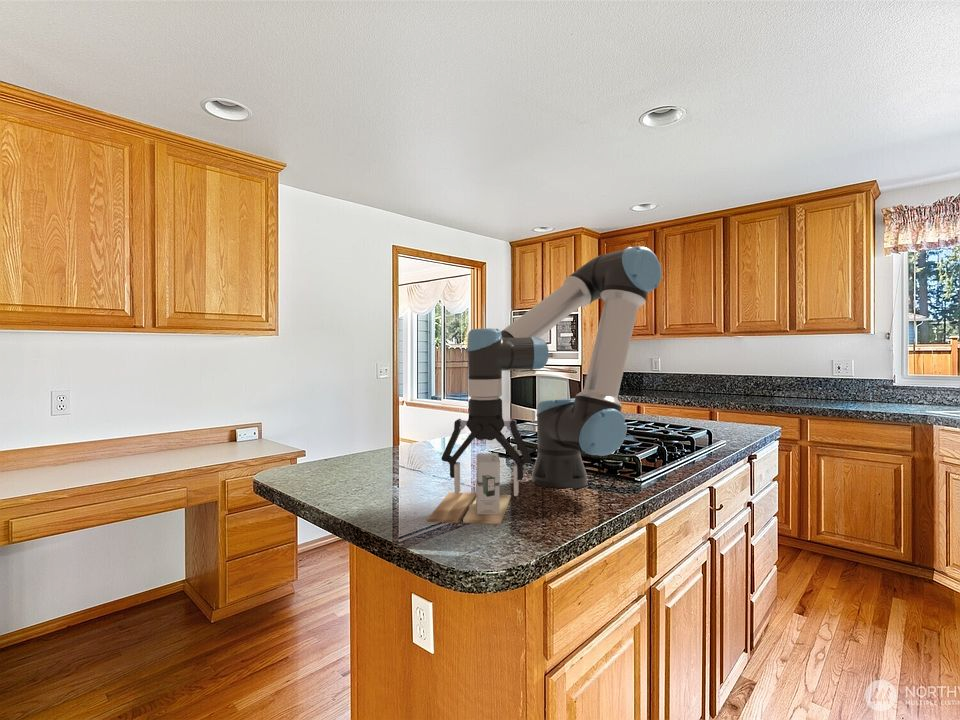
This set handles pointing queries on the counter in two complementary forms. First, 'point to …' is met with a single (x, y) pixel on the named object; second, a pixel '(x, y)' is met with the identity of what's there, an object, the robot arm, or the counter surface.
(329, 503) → the counter surface
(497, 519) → the plank
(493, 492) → the ink box
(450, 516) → the floor strip
